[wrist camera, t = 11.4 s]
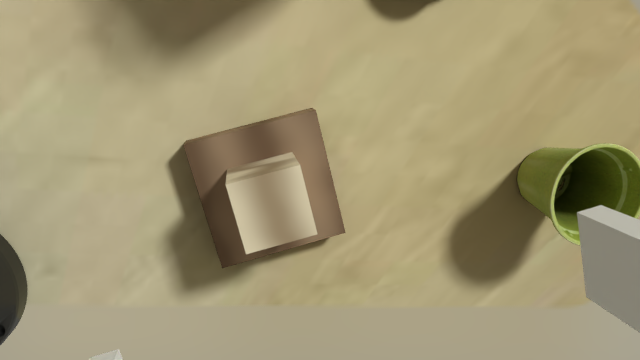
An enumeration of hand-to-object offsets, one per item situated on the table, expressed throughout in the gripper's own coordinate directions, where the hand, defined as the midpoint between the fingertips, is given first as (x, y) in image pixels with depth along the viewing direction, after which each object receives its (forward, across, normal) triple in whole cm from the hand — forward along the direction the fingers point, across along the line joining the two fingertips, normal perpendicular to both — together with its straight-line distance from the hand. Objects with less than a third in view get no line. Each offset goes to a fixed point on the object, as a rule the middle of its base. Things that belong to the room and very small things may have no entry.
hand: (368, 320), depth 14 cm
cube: (+32, -2, -4) cm, 33 cm away
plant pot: (+35, +26, -11) cm, 45 cm away
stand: (+35, -2, -4) cm, 35 cm away
